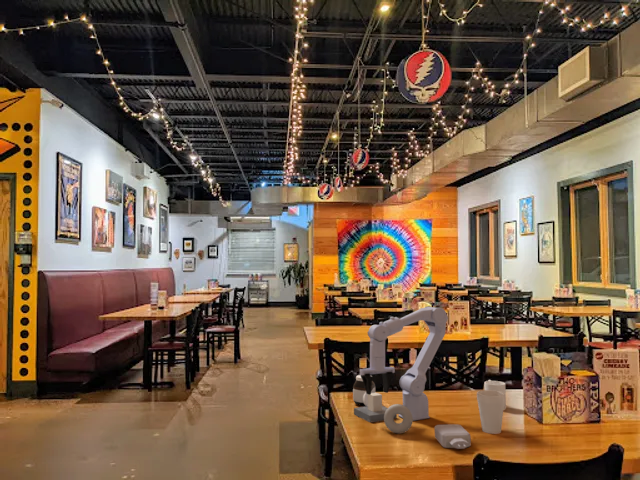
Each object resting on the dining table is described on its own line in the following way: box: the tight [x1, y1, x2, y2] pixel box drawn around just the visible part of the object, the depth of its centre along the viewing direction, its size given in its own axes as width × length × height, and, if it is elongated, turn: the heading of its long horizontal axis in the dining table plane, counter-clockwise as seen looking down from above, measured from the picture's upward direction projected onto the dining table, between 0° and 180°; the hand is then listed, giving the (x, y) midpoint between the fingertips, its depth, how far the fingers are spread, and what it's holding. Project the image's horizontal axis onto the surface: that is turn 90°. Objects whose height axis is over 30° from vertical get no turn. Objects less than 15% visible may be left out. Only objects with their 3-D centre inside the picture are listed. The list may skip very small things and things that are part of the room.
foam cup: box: [476, 389, 505, 435], centre depth 177 cm, size 10×9×13 cm
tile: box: [353, 405, 398, 423], centre depth 195 cm, size 12×12×2 cm
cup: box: [483, 379, 507, 411], centre depth 209 cm, size 8×12×10 cm
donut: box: [383, 403, 413, 435], centre depth 174 cm, size 10×4×10 cm, turn 82°
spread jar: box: [352, 374, 376, 407], centre depth 212 cm, size 12×11×12 cm
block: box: [368, 392, 383, 412], centre depth 195 cm, size 4×4×6 cm
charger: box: [434, 423, 472, 450], centre depth 161 cm, size 5×9×15 cm
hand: (377, 393), depth 189 cm, fingers open, 7 cm apart
